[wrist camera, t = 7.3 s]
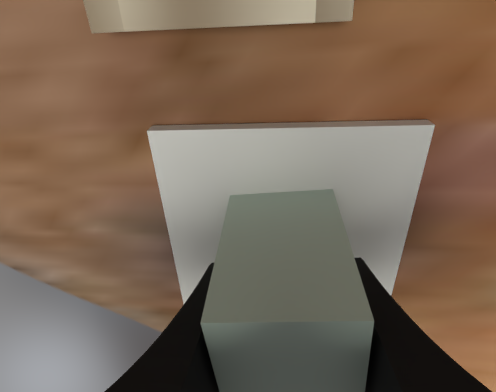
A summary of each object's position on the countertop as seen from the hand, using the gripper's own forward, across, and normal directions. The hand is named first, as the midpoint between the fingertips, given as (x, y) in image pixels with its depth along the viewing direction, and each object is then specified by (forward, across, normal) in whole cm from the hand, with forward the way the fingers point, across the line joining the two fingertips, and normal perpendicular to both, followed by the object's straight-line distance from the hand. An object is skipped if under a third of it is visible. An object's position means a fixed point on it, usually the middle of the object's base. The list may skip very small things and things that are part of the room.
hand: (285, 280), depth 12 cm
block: (+2, 0, 0) cm, 2 cm away
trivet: (+3, 0, 0) cm, 3 cm away
